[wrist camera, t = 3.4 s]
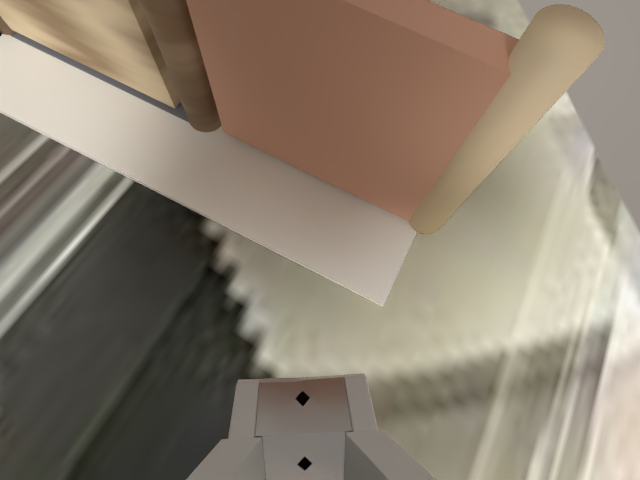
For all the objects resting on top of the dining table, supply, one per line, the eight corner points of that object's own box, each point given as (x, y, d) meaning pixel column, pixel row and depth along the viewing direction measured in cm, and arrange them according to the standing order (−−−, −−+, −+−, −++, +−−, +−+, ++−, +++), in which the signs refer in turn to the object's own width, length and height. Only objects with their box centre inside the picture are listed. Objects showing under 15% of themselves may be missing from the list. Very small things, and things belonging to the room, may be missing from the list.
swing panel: (220, 136, 23) (144, -118, 11) (237, 111, 23) (182, -156, 12) (434, 240, 22) (594, 74, 10) (447, 210, 22) (613, 22, 11)
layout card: (-43, 90, 24) (-50, 85, 23) (127, -85, 29) (124, -92, 28) (381, 306, 21) (383, 305, 21) (489, 74, 26) (492, 68, 26)
